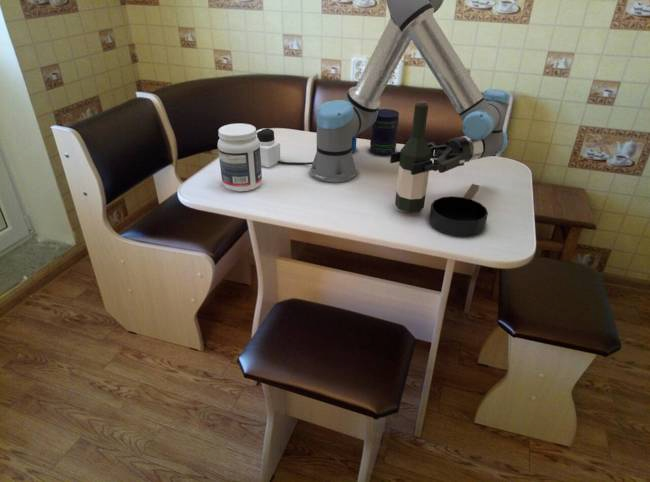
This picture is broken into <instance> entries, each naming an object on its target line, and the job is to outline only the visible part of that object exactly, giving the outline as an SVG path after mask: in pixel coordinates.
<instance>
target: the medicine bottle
mask: <svg viewBox="0 0 650 482" xmlns="http://www.w3.org/2000/svg"><path fill="white" fill-rule="evenodd" d="M256 132H257V135H256V137H257V138H258V139H259V142H260V155H261V167H264V168H268V169H270V168H271V167H273V166H275V165H277V164H279V163H278V161H281V160H282V159H281V143H280V142H277V141H275V131H274V130H273V129H271V128H268V127H267V128H260V129H257V130H256Z"/></svg>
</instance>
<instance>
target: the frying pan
mask: <svg viewBox="0 0 650 482" xmlns="http://www.w3.org/2000/svg"><path fill="white" fill-rule="evenodd" d="M479 189H480V185H479V184H475V183H472V184H470V186H469V187H468V189H467V191H466V192H465V193H464V195H463V196H452V195H451V196H441V197H439V198H435V199H434V200H433V202H432V203H430V210H429V215H428V216H429V218H428V219H429V220H428V222H429V224H430V226H431V227H432V228H433V229H434V230H436V231H438V232H439V233H442V234H444V235H448V236H451V237H458V238H470V237H474V236H475V237H476V236H479V235H480V234H482V233H483V232H484V229H485V227H486V225H487V219H488V216H489V211H488V209H487V207H485V205H484V204H482V203H481V202H478V201H476V200H474V198H475V196H476V194H477V193H478V192H479Z"/></svg>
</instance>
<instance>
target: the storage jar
mask: <svg viewBox="0 0 650 482" xmlns="http://www.w3.org/2000/svg"><path fill="white" fill-rule="evenodd" d="M399 118H400V112H399V111H397V110H395V109H390V108H378V115H377V118H376V121H375V122H374V123H373V125H372V126H371V136H370V139H369V140H370V141H369V147H370V149H369V153H370V154H372V155H373V156H377V157H391V153H395V152H396V148H397V141H398V138H397V133H398V128H399V122H400V119H399Z"/></svg>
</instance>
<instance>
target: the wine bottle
mask: <svg viewBox="0 0 650 482" xmlns="http://www.w3.org/2000/svg"><path fill="white" fill-rule="evenodd" d="M428 111H429V105H428V101H426V100H417V101H416V103H415V105H414V110H413V120H412V128H411V135H410V137H409V139H408V140H407V141H406V142H405V144H404V145H403V146H402V148H401V149H400V151H399V152H400V161H399V162H398V171H397V172H398V173H397V179H396V181H397V182H396V191H395V201H394V205H395V207H396V209H397V210H398V211H402V212H406V213H408V214H409V213H419V212H421V211H422V210H423V209H424V208H425V202H426V195H427V189H428V182H429V175H430V171H427V172H423V173H419V174H415V175H412V174H411V168H412V164H416V163H420V162H425V161H429V160H432V159H431V154H432V153H431V150H430V148H429V146H428V144H427V143H428V142H427V140H426V137H425V135H426V126H427V119H428Z"/></svg>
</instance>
